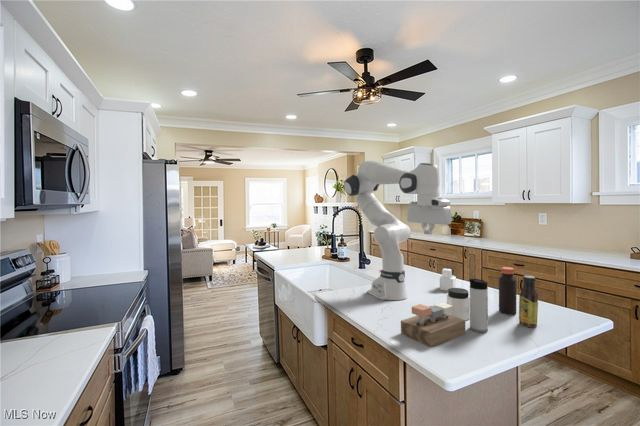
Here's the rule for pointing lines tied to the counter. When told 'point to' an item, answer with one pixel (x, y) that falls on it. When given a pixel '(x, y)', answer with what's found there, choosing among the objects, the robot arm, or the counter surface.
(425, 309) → the key terracotta
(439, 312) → the key slate
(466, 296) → the jar
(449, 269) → the medicine bottle
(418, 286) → the counter surface
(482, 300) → the travel mug
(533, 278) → the sauce bottle
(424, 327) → the keypad base
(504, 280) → the vinegar
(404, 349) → the counter surface
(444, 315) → the cream block
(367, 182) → the robot arm
